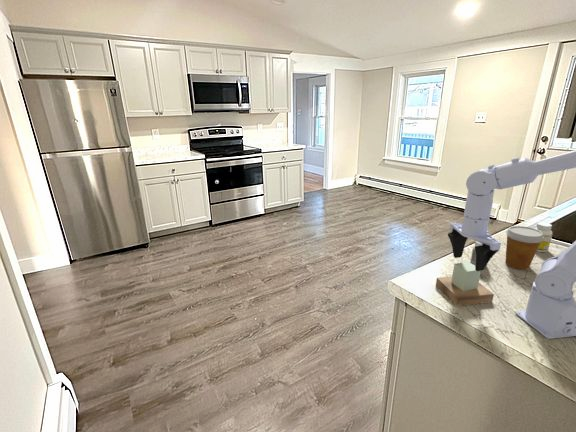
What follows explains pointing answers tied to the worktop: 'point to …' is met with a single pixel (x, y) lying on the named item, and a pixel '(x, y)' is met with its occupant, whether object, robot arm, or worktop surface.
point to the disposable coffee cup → (522, 246)
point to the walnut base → (464, 292)
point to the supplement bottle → (547, 235)
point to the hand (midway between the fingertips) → (468, 263)
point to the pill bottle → (474, 253)
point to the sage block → (465, 276)
